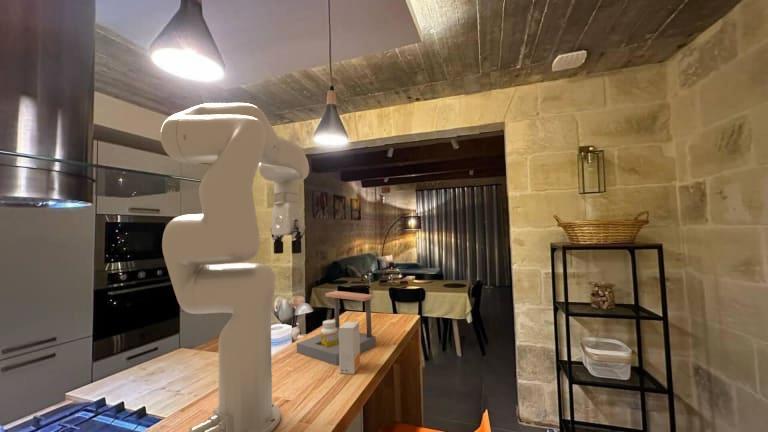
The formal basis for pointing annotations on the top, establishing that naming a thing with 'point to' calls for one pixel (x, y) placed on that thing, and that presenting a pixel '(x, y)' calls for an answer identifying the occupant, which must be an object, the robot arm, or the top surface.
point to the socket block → (331, 354)
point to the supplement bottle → (329, 334)
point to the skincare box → (349, 347)
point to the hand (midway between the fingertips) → (287, 253)
